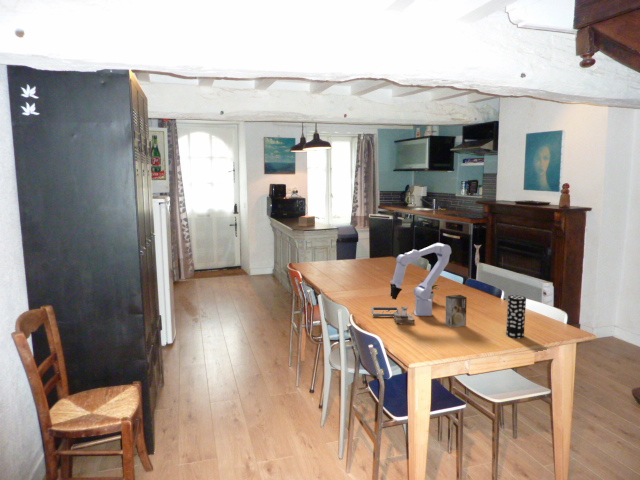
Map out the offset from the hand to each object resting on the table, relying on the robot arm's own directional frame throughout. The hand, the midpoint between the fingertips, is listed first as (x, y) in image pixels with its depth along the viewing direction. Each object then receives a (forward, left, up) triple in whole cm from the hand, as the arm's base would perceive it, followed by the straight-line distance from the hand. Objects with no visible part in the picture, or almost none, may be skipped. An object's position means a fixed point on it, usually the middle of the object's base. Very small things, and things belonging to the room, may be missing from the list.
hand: (393, 297), depth 266 cm
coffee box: (-32, +15, -11) cm, 37 cm away
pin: (-5, +9, -11) cm, 15 cm away
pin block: (-5, +9, -11) cm, 15 cm away
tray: (+4, -5, -11) cm, 13 cm away
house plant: (-25, -31, -11) cm, 42 cm away
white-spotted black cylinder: (-58, +31, -11) cm, 67 cm away
